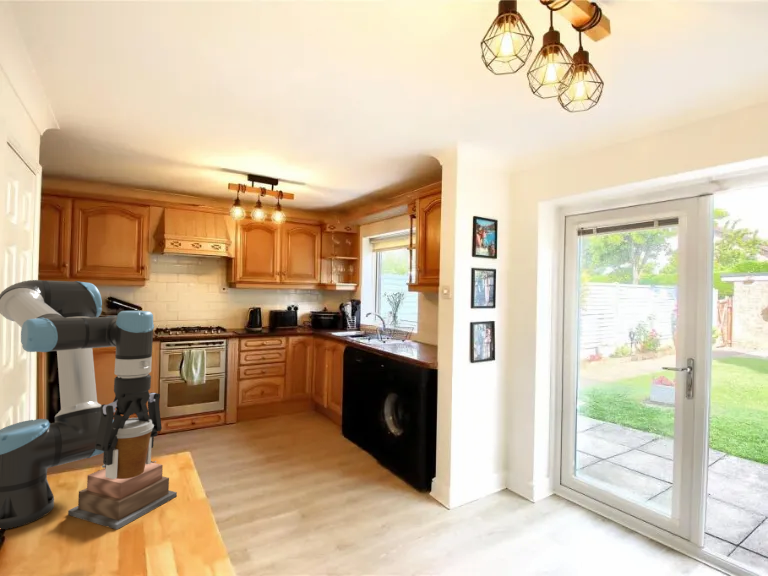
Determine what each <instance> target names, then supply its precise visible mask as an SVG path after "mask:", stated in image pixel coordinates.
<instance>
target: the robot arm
mask: <svg viewBox="0 0 768 576" xmlns="http://www.w3.org/2000/svg"><path fill="white" fill-rule="evenodd" d="M102 307H103V301H102V295H101V292H100V290H99V289H98V287H97V286H96V285H95V284H94V283H92V282H84V281H78V280H75V281H72V280H71V281H69V280H68V281H67V280H66V281H65V280H41V279H31V280H24V281H20V282H19V281H18V282H16V283H14V284H11V285H9V286H8V287H6V288H4V289H3V290H2V291H1V293H0V315H2V317H3V318H4V319H7V320H9V321H11V322H15V323H16V324H17V325H18V326H19V327H20V328H21V330H20V342H21V345H22V349H23V350H24V351H25V352H28V353H38V352H39V353H48V352H56V354H57V355H56V356H57V368H58V370H57V372H58V384H59V385H58V386H59V398H60V399H59V400H60V410H59V411H58V413H56V414H55V416H54V422H52V423H51V422H50V421H49V419H46V418H36V419H27V420H23V421H20V422H16V423H13V424H10V425H7V426H5V427H2V428H0V528H1V529H5V530H8V528H10V529H13V528H12V527H14V528H18V527H21V526H24V525H27V524H30V523H33V522H35V521H37V520H39V519H41V518H43V517H44V516H47V514H49V513H51V511H52V510H53V509H54V507H55V506H54V505H55V496H54V494H53V491H52V489H51V487H50V484H49V481H48V469H49V468H53V467H58V466H62V465H65V464H68V463H69V464H70V463H72V462H77V461H81V460H85V459H90V458H92V457H95V456H99V455H101V454H103V457H102V458H103V460H102V462H103V465H106V475H105V477H107V478H111V479H115V478H117V465H118V449H115V447H116V444H117V442H118V438H117V436H116V435H117V433H118V429H120V428H121V429H123V427H124V424H125V422H126V420H128V419H129V418H130V416H132V415H134V414H135V415H136V416H137V417H136V418H138V419H139V420H140V421H145V422H146V421H149V420H148V419H151V420H152V424H153V425H154V427H153V428H152V431H151V435H150V441H149V447H148V452H147V457H146V463H145V464H150V463H151V461H152V449H153V448H154V440H155V438H156V437H157V436H158V432H161V430H162V428H163V427H162V419H161V412H160V410H161V409H160V398H161V394H160V393H156V392H150V389H151V387H152V386H151V385H152V375H151V374H150V373H151V372H152V362H153V361H152V360H153V359H152V358H153V355H152V354H153V341H154V340H153V339H154V338H153V337H154V328H155V324H154V314H153V313H152V311H149V310H145V311H144V310H121V311H118V313H117V315H109V316H101V314H102V311H103V308H102ZM110 347H112V348H113V347H114V348H115V355H114V356H115V357H114V358H115V360H114V373H113V374H114V375H116V376H115V377H114V378H113V379H114V380H113V392H114V395H115V396H114V399H113V401H112V402H110V403H108V404H104V403H103V404H101V403H99V402H98V395H97V385H96V372H95V363H94V352H93V349H95V348H110ZM113 428H115V429H113ZM154 437H155V438H154ZM17 526H18V527H17Z"/></svg>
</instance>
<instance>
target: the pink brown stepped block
mask: <svg viewBox="0 0 768 576" xmlns="http://www.w3.org/2000/svg"><path fill="white" fill-rule="evenodd" d="M163 466H164V465H163V464H160V463H157V462H154V463H152V462H151V463H150V464H145V468H144V472H143V473H142V474H140V475H138V476H136V477H132V478H128V479H117V478H115V479H111V478H107V477H105V475H106V468H102V469H100V470H97V471H94V472H93V473H90V474H87V478H86V479H87V483H86V488H84V489H82V490H79V491H78V498H77V499H78V501H77V502H78V503H77V504H78V505H77V506H75V507H72V508H70V509H68V510H67V516H71V517H74V518H77V519H80V520H84V521H87V522H90V523H94V524H97V525H100V526H104V527H107V528H110V529H114V530H119V529H121V528H122V527H124V526H126V525H128V524H130V523H131V522H133V521H135V520H137V519H139V518H140V517H142V516H144V515H146V514H148V513H149V512H151V511H153V510H155V509H157V508H159V507H160V506H162V505H164V504H165V503H168V502H169V501H171V500H173V499H174V498H176V497H177V494H178V492H176V491H173V490H170V477H167V476H163Z"/></svg>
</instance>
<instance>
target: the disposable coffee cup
mask: <svg viewBox="0 0 768 576" xmlns="http://www.w3.org/2000/svg"><path fill="white" fill-rule="evenodd" d="M148 420H149V421H146V422H145V421H140V420H139V419H138V417H131V418H130V417H129V419H128V420H126V422H125V424H124V427H123V429H121V428H120V429H118V433H117V435H116V436H117V438H118V442H117V444H116V447H115V449H118V465H117V479H128V478H132V477H136V476H138V475H140V474H142V473H143V472H144V468H145V463H146V457H147V452H148V447H149V441H150V435H151V431H152V428H153V427H154V425H153V424H152V420H151V419H148ZM113 429H115V428H113Z"/></svg>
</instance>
